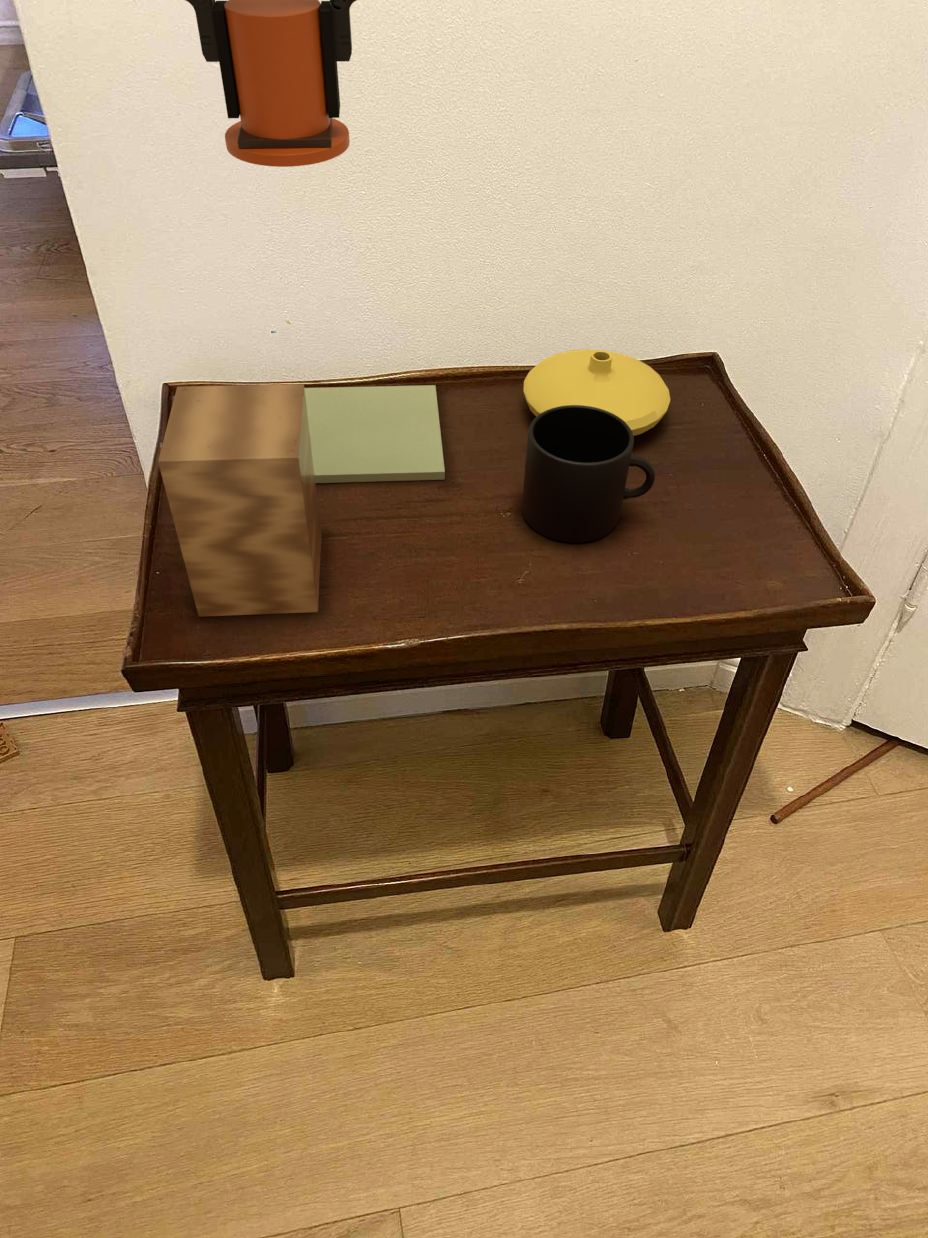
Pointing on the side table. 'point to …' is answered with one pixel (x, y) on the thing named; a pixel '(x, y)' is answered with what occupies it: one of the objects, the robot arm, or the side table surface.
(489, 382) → the side table surface
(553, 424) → the mug
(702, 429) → the side table surface
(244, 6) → the hat
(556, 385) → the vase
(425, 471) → the mat
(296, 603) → the block
